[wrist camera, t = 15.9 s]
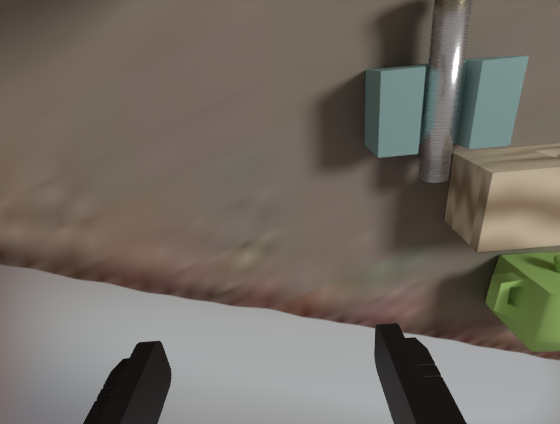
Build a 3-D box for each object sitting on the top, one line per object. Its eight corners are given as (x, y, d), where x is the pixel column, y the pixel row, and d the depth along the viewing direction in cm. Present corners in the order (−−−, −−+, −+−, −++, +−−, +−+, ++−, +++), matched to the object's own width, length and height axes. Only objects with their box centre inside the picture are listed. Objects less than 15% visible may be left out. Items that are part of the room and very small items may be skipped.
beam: (453, 153, 37) (492, 173, 31) (629, 136, 37) (708, 153, 30) (444, 221, 41) (477, 252, 34) (603, 207, 41) (668, 236, 34)
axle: (420, -13, 29) (450, -25, 25) (458, -16, 30) (494, -28, 26) (406, 175, 37) (428, 187, 33) (436, 170, 37) (462, 180, 34)
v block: (365, 70, 34) (381, 71, 29) (490, 56, 33) (528, 55, 28) (364, 144, 37) (378, 157, 32) (478, 133, 37) (509, 145, 32)
